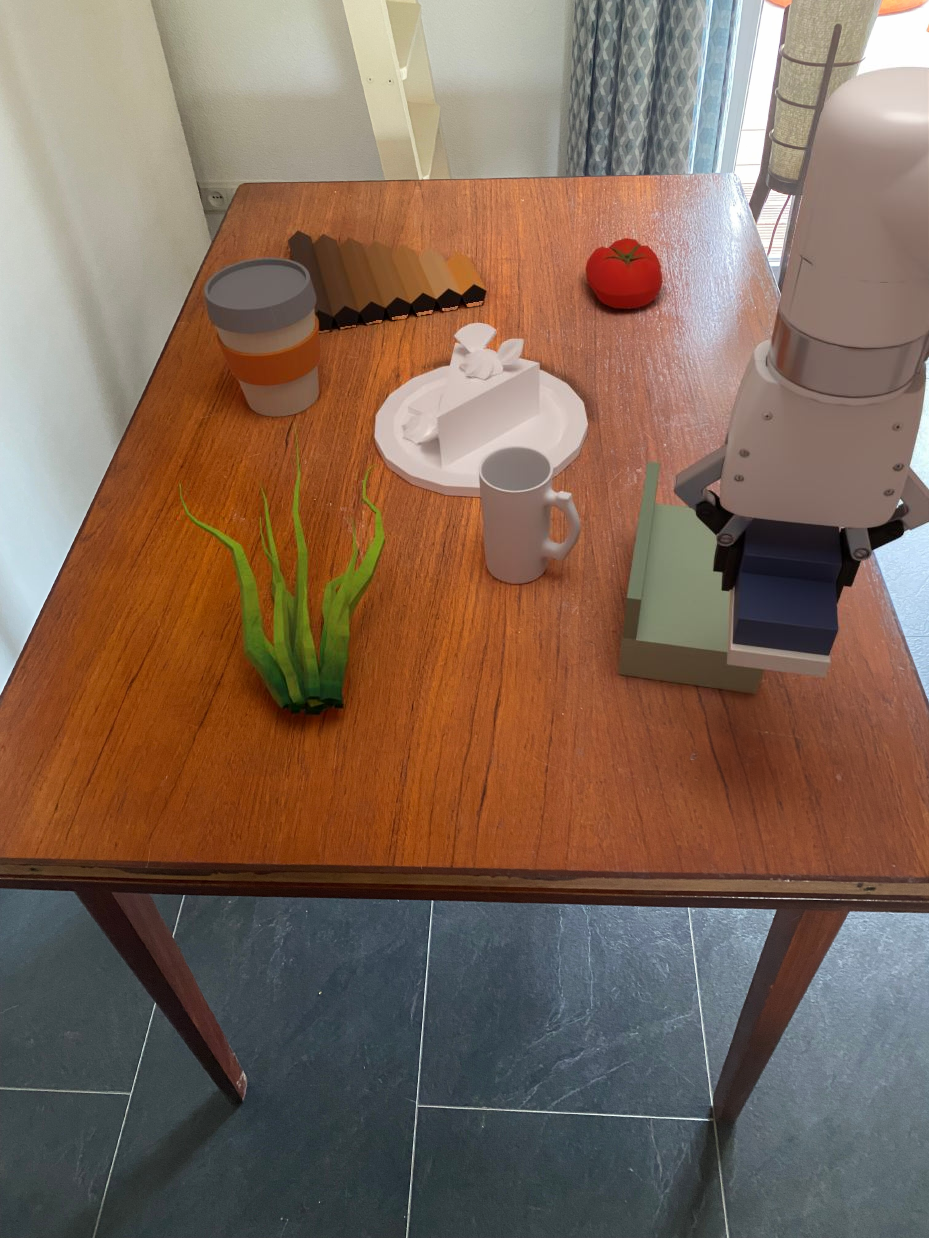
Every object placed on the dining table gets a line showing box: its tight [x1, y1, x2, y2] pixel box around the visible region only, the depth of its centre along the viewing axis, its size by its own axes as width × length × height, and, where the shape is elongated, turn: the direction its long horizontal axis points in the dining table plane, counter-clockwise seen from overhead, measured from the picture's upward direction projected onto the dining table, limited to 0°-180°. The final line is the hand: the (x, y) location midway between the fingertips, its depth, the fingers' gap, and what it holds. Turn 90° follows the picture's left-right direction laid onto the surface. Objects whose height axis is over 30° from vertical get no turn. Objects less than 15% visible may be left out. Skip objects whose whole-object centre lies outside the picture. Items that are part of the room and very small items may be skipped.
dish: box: [374, 322, 589, 498], centre depth 103 cm, size 25×25×11 cm
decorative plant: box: [178, 422, 386, 716], centre depth 84 cm, size 18×30×15 cm, turn 169°
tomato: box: [584, 237, 663, 310], centre depth 123 cm, size 10×11×6 cm
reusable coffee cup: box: [203, 257, 321, 418], centre depth 108 cm, size 13×13×15 cm
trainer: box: [727, 518, 842, 678], centre depth 60 cm, size 14×6×6 cm, turn 167°
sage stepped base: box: [617, 461, 765, 695], centre depth 82 cm, size 12×18×10 cm, turn 167°
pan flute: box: [287, 230, 488, 331], centre depth 132 cm, size 25×3×25 cm
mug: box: [479, 446, 582, 585], centre depth 86 cm, size 10×7×12 cm, turn 59°
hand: (778, 581), depth 61 cm, fingers closed on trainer, 6 cm apart
